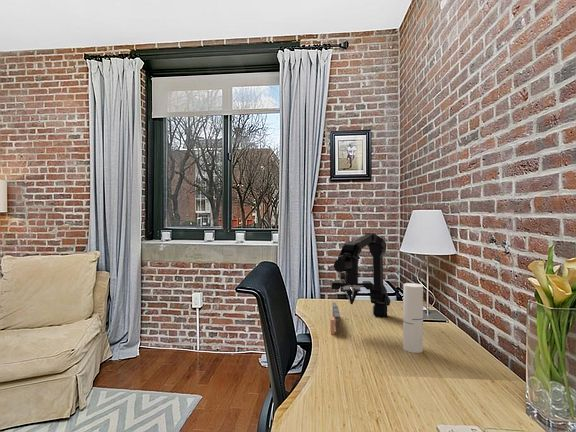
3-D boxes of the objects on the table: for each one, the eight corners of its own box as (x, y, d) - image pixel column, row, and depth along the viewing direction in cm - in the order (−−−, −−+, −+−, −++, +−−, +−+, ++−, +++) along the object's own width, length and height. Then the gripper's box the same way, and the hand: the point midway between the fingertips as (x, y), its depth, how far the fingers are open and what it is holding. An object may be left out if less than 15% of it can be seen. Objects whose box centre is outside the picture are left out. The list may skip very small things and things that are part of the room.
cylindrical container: (424, 353, 123) (424, 287, 123) (404, 352, 125) (404, 286, 124) (420, 346, 130) (421, 283, 130) (402, 344, 132) (402, 282, 131)
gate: (333, 320, 159) (333, 306, 159) (337, 320, 159) (337, 306, 159) (335, 332, 143) (335, 316, 143) (340, 332, 143) (340, 316, 143)
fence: (335, 315, 169) (335, 301, 169) (340, 334, 142) (340, 317, 142) (328, 315, 170) (328, 300, 170) (330, 334, 143) (330, 317, 143)
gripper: (368, 267, 156) (368, 299, 156) (329, 266, 156) (329, 299, 156) (374, 271, 145) (373, 306, 145) (331, 270, 145) (331, 305, 145)
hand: (351, 304), depth 148 cm, fingers closed
